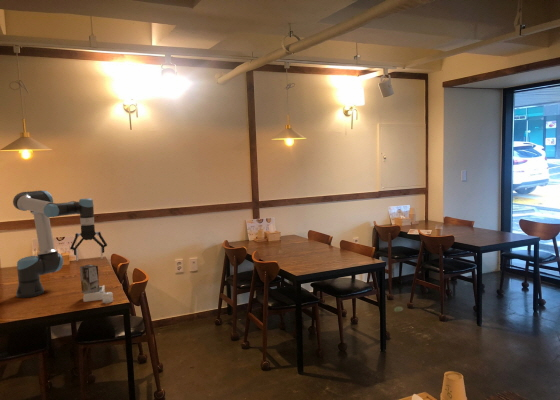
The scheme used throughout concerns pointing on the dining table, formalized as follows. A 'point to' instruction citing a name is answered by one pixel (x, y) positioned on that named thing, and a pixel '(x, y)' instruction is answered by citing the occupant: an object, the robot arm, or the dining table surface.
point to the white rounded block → (107, 297)
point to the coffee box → (89, 278)
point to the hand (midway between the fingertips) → (89, 259)
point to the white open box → (94, 295)
